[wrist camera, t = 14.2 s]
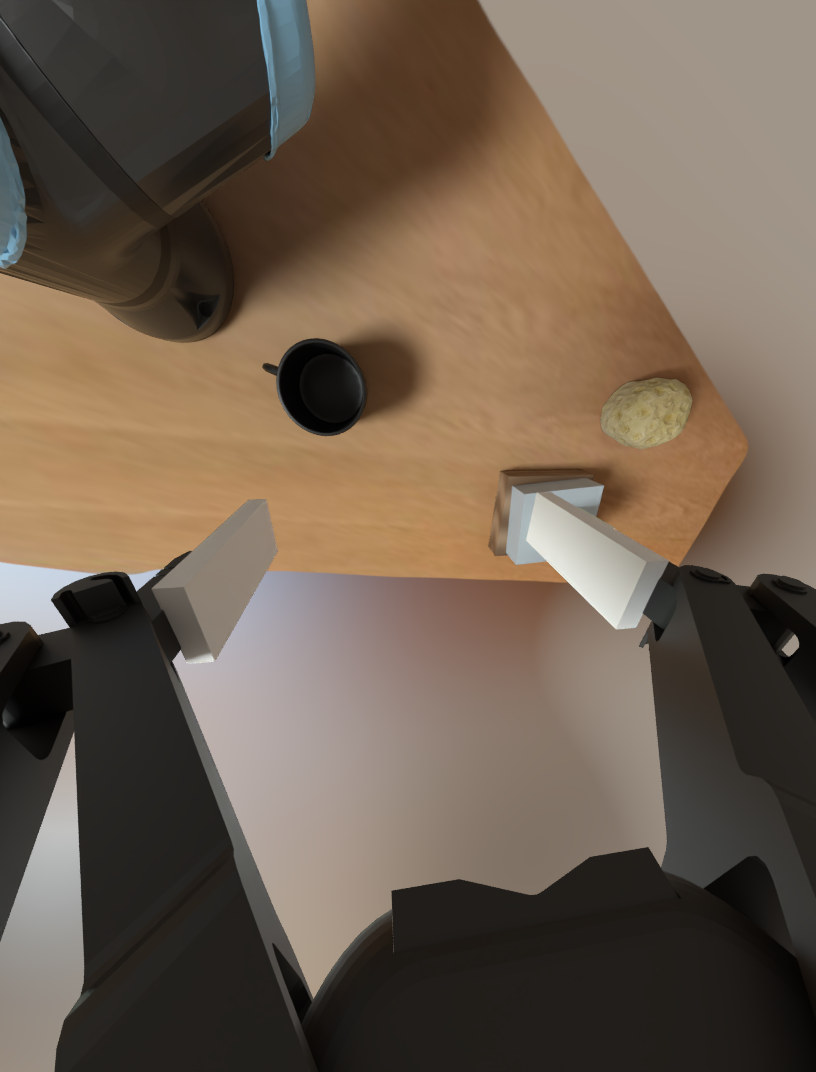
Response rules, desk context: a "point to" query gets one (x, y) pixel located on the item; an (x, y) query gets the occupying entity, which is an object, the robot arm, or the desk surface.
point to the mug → (320, 386)
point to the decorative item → (647, 412)
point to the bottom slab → (504, 499)
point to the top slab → (521, 509)
